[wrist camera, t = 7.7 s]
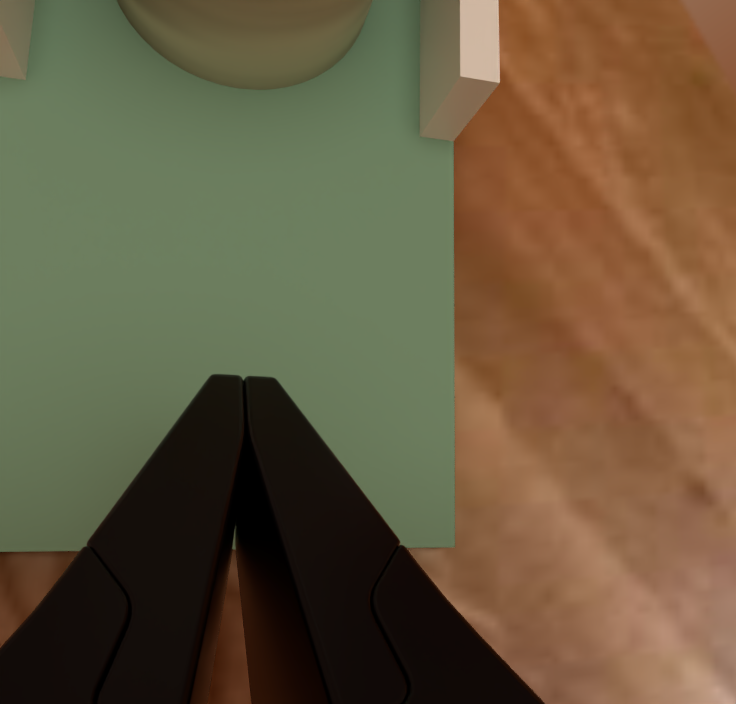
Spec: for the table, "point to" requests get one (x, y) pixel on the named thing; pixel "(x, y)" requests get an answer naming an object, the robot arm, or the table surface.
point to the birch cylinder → (249, 37)
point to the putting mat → (219, 267)
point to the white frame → (437, 58)
